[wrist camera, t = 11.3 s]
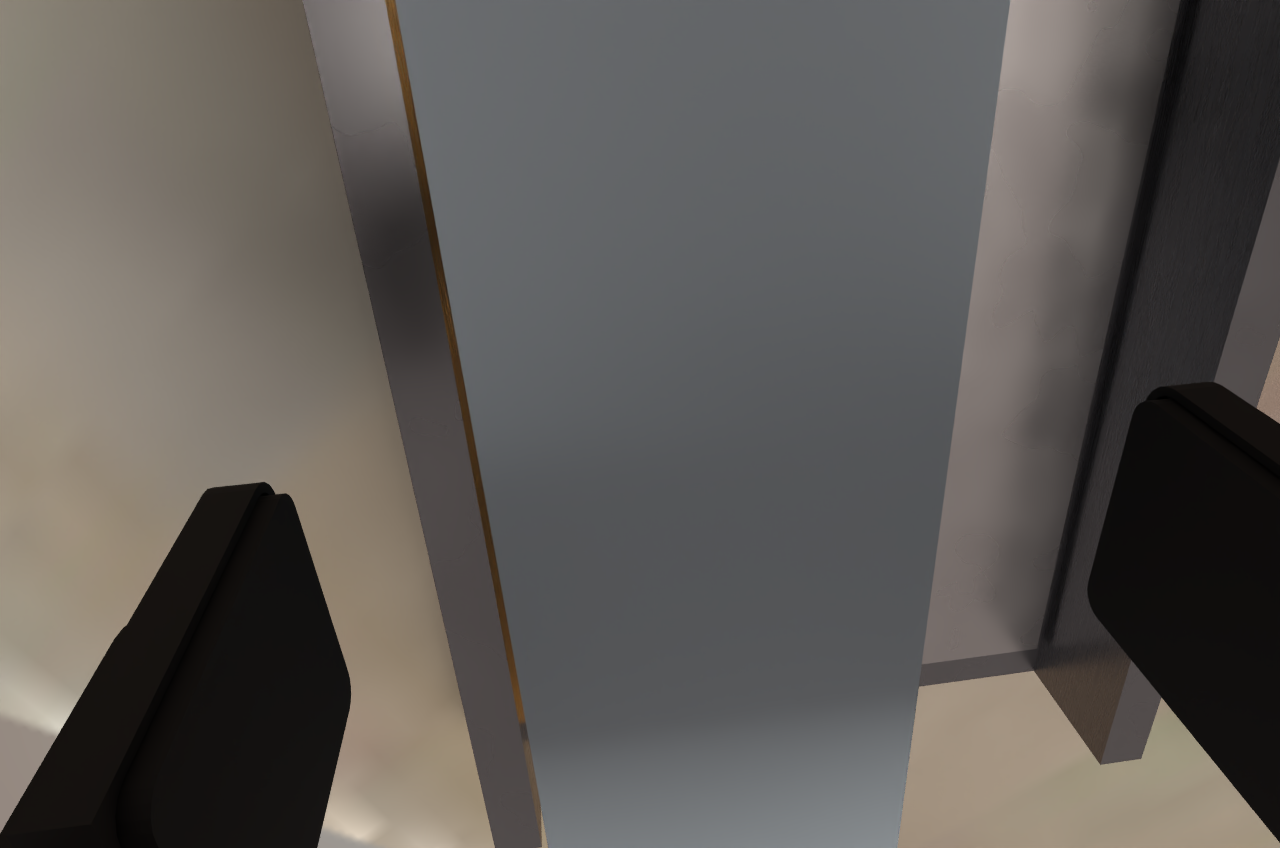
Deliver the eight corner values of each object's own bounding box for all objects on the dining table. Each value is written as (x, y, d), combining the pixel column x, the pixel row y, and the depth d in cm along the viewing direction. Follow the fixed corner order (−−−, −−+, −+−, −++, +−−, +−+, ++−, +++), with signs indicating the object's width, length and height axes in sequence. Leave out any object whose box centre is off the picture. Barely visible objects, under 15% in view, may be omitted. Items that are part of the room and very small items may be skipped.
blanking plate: (437, -271, 12) (268, -698, 4) (726, -285, 12) (1104, -713, 4) (570, 684, 21) (601, 1138, 13) (736, 662, 21) (864, 1092, 13)
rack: (236, -426, 12) (115, -583, 8) (1335, -467, 13) (1636, -619, 9) (481, 715, 22) (473, 856, 19) (1067, 636, 24) (1161, 755, 20)
